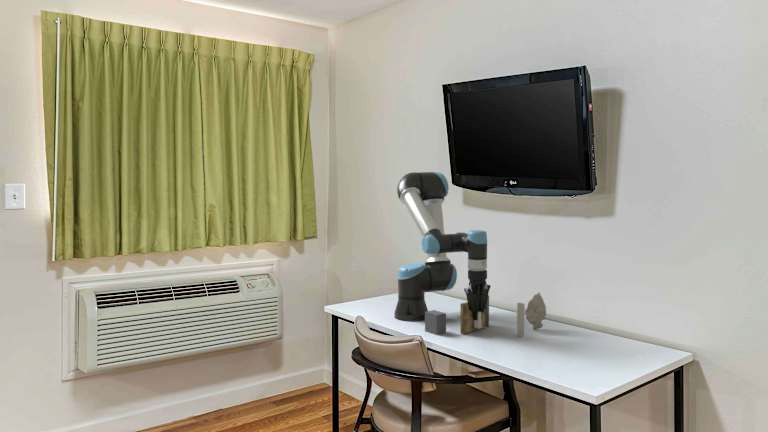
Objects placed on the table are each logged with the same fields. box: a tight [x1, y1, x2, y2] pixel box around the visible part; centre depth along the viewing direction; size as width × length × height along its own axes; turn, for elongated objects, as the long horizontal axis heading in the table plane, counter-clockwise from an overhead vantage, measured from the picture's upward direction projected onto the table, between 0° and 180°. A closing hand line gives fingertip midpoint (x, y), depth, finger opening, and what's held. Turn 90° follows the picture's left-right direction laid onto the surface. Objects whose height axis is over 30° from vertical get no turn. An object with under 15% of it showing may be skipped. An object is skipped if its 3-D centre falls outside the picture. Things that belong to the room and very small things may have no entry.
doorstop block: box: [424, 309, 447, 336], centre depth 238 cm, size 7×5×8 cm
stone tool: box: [524, 292, 547, 331], centre depth 239 cm, size 11×4×15 cm, turn 119°
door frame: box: [484, 294, 526, 338], centre depth 240 cm, size 26×2×13 cm, turn 37°
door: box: [460, 301, 486, 335], centre depth 239 cm, size 15×2×12 cm, turn 134°
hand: (477, 327), depth 237 cm, fingers closed
